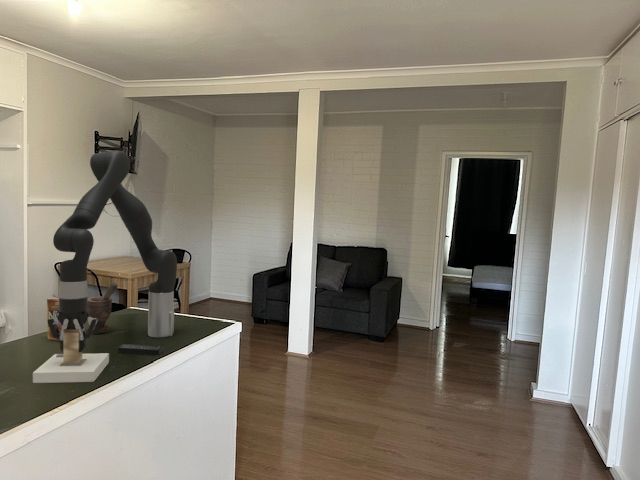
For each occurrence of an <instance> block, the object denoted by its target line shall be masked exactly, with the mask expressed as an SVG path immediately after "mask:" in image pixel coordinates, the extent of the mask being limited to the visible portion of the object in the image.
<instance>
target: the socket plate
mask: <svg viewBox="0 0 640 480" xmlns="http://www.w3.org/2000/svg"><path fill="white" fill-rule="evenodd" d="M109 362H110V353H107V352H106V353H102V352H101V353H82V359H81V360H80V361H79V362H78V363H63V353H54V354H52V356H51V357H50V358H49V359H47V360H46V361H45V362H44V363H42V365H40V366H39V367H38V368H36V370H34V371H33V372H32V384H48V383H49V384H52V383H54V384H55V383H57V384H58V383H59V384H60V383H94V382H95V380H96V379H97V378H99V375H101V373H102V372H103V370H104V369H105V368H106V367H107V365H108V364H109Z"/></svg>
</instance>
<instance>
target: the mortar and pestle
mask: <svg viewBox="0 0 640 480" xmlns="http://www.w3.org/2000/svg"><path fill="white" fill-rule="evenodd" d="M118 287H119V286H118V284H117V283H116V282H112V283H110V284H109V286H108V287H107V290H106V292H105V293H104V296H91V297H89V298H87V313H88V315H89V317H92V318H98V322H97V324H96V327H95V330H94V332H93V335H95V334H106V333H108V332H110V327H109V325H107V324H106V322H107V320H109V319H110V317H111V314H112V303H113V299H112V295H113V294H114V293H115V291H116V290H117V289H118Z"/></svg>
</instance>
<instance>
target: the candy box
mask: <svg viewBox="0 0 640 480" xmlns="http://www.w3.org/2000/svg"><path fill="white" fill-rule="evenodd" d="M58 314H59V296H54V297H48V298H47V299H46V315H47V316H46V320H47V321H48V320H49V319H50V318H55V317H57V316H58ZM46 323H47V324H46V326H47V329H46V330H47V340H52V341H57V342H60V339H57V338H53V335H52V333H51V330H50V327H49V325H48V322H46ZM57 326H58V328H59V331H60V333H61V330H62V327H63V326H62V324H61V323H60V322H59V321H58V323H57Z"/></svg>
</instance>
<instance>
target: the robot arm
mask: <svg viewBox="0 0 640 480" xmlns="http://www.w3.org/2000/svg"><path fill="white" fill-rule="evenodd" d="M89 161H90V162H89V165H90V169H91V172H92V174H93V175H94V177H95V179H96V180H97V183H96V184H95V185H93V187H92V188H90V189H89V190H88V191H87V192H86V193H85V194H84V195H83V196H82V197H81V199H80V200H79V201H78V203H77V205H76V207H75V209H74V211H73V213H72V214H71V215H70V216H69V217H68V218H67V219H66V220H65V221H64V222H63V223H62V224H61V225H60V226H59V227H58V228H57V230H56V231H55V232H54V235H53V246H54V248H55V249H56V250H57V251H59V252H63V253H75V254H74V257H73V258H72V259H67V260H63V261H62V262H61V263H60V266H59V285H58V297H59V314H58V316H57V317H55V318H50V319H49V320H48V321H47V322H48V325H49V327H50V330H51V333H52V335H53V338H57V339H60V341H59V343H60V346H59V348H60V351H61V352H62V353H63V341H64V329H79V339H80V340H79V352H82V353H83V352H84V351H85V349H86V347H87V346H86V344H87V341H86V340H87V339H90V338H91V337H92V336H93V335H94V334H93V332H94V330H95V327H96V324H97V322H98V318H92V317H89V315H88V309H87V308H88V303H87V302H88V293H89V292H88V281H87V276H88V275H87V273H88V269H87V268H88V263H89V260H90V256H91V253H92V251H93V248H94V247H93V246H94V244H95V243H94V242H95V241H94V236H93V233H92V232H91V231H90V230H91V229H93V228H94V227H95V226H96V225H97V222H98V221H99V219H100V217H101V215H102V213H103V210H104V209H105V207H106V205H107V203H108V201H109V200H110V201H111V202H112V204H113V206H114V208H115V209H116V211H117V213H118V215H119V216H120V219H121V220H122V222H123V225H124V226H125V228H126V229H127V231H128V232H129V234H130V236H131V238H132V240H133V242H134V244H135V246H136V248H137V250H138V253H139V255H140V257H141V260H142V262H143V265H144V266H145V268H146V269H147V271H148V272H149V273H150V272H151V273H153V274H157V279H156V281H153V282H151V283H149V285H148V305H147V306H148V308H147V309H148V311H147V313H148V314H147V319H148V320H147V335H148V336H149V337H150V338H166V337H173V334H174V332H175V331H174V330H175V328H174V326H175V325H174V324H175V309H174V300H175V298H174V297H175V294H174V293H175V290H174V289H175V285H176V281H177V274H178V273H177V271H178V258H177V256H176V254H175V253H174V252H173V251H171V250H165V249H160V248H158V247H157V245H156V243H155V241H154V239H153V237H152V232H153V219H152V217H151V215H150V212H149V211H148V209H147V206H146V205H145V204H144V203H143V202H142V201H141V199H139V197H137V196H136V195H134V194H133V193H132V192H130V191H129V190H127V189H126V188H125V187H124V186H123V184H122V183H123V181H124V180H125V179H126V177H127V176H128V174H129V172H130V169H131V162H130V159H129V157H128V155H127V154H126V153H125V152H124V151H122V150H110V151H102V152H98V153H97V152H96V153H94V154H92V155H91V157H90V159H89ZM58 321H59V322H60V323H61V324H62V326H63V327H62V330H61V333H60V331H59V328H58V326H57V323H58ZM47 322H46V323H47ZM86 322H88V325H89V327H88V329H87V332H86V328H85V324H86ZM81 327H82V328H81Z"/></svg>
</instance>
